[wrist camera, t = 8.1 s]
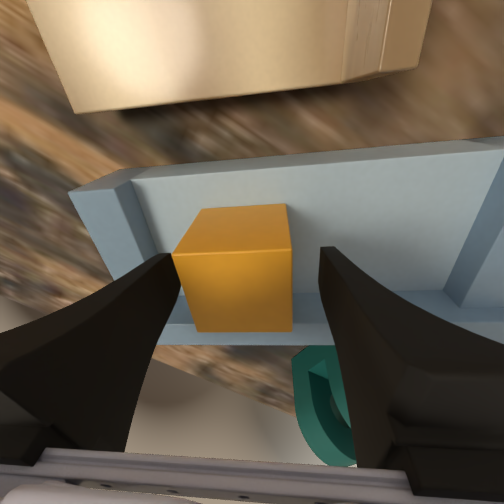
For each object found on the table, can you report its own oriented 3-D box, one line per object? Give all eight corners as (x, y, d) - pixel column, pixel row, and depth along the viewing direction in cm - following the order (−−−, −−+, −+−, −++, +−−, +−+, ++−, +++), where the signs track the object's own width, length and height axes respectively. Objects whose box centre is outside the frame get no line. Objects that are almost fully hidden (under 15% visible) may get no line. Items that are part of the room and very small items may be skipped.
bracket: (291, 359, 24) (298, 456, 17) (336, 323, 21) (366, 427, 14) (411, 412, 28) (454, 507, 22) (465, 390, 25) (535, 494, 18)
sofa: (509, 135, 12) (655, 155, 8) (443, 282, 17) (504, 346, 13) (119, 169, 15) (49, 199, 10) (165, 289, 20) (134, 345, 15)
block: (286, 202, 12) (292, 249, 8) (287, 272, 14) (292, 333, 10) (200, 207, 12) (170, 254, 9) (215, 274, 15) (196, 333, 11)
